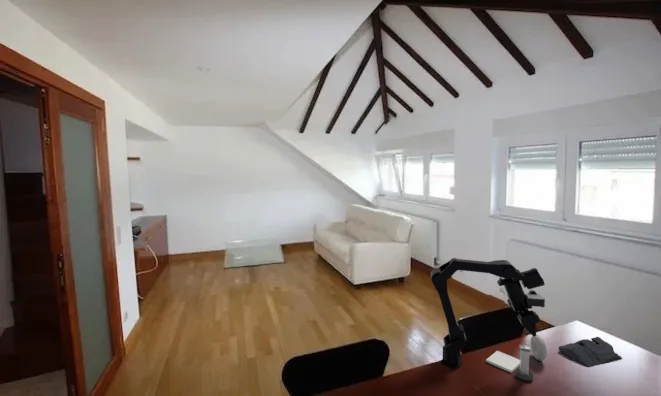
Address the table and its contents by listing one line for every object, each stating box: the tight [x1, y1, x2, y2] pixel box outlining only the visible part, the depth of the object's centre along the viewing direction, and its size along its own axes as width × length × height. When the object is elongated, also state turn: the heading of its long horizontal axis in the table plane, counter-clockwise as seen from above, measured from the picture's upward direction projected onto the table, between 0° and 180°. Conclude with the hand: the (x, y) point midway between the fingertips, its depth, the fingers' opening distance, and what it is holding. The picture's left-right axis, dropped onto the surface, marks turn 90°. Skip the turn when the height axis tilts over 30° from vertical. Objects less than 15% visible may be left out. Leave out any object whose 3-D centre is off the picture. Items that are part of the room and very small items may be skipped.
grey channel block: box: [514, 344, 534, 383], centre depth 125 cm, size 6×6×12 cm
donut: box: [529, 334, 548, 361], centre depth 136 cm, size 10×3×10 cm, turn 168°
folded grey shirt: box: [558, 336, 623, 368], centre depth 139 cm, size 15×22×5 cm
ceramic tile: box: [485, 350, 520, 374], centre depth 135 cm, size 10×10×1 cm
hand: (530, 330), depth 127 cm, fingers open, 9 cm apart
